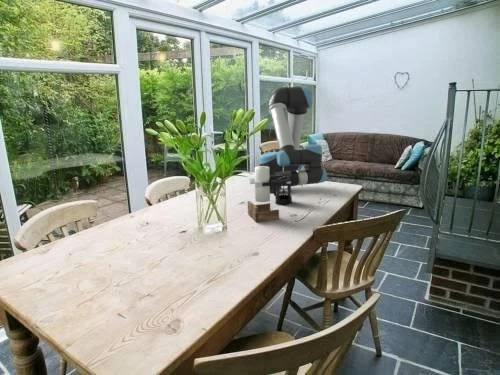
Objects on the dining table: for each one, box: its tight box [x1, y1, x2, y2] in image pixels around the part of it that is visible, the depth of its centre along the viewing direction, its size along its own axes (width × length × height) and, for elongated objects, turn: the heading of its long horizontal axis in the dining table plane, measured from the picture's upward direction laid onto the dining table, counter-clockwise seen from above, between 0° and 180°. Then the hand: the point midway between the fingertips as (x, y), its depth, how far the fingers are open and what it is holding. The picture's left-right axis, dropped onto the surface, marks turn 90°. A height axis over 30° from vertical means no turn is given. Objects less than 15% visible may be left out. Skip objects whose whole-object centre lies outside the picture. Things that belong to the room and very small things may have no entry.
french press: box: [273, 166, 293, 206], centre depth 184 cm, size 12×9×23 cm
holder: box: [247, 200, 280, 223], centre depth 165 cm, size 12×12×7 cm
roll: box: [254, 165, 271, 203], centre depth 161 cm, size 7×7×16 cm
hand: (252, 183), depth 159 cm, fingers closed on roll, 7 cm apart
